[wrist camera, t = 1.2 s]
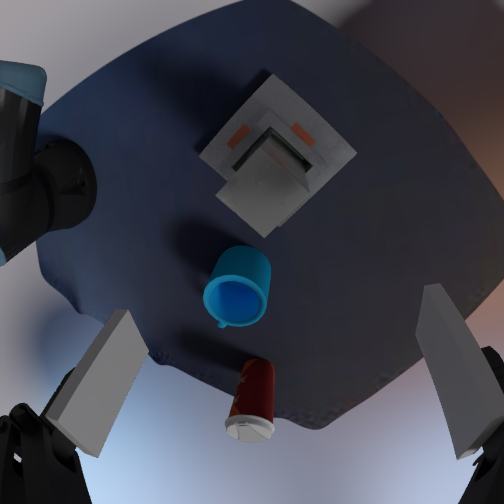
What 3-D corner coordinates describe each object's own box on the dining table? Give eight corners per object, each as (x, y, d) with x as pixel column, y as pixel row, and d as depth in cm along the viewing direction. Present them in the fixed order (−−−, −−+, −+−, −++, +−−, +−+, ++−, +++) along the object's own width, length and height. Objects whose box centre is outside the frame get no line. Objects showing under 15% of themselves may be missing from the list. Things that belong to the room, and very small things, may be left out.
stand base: (201, 154, 37) (167, 172, 27) (273, 75, 31) (265, 58, 21) (280, 223, 40) (275, 265, 30) (354, 151, 34) (380, 168, 24)
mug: (228, 236, 42) (214, 264, 35) (280, 259, 43) (277, 290, 35) (203, 297, 48) (188, 329, 40) (249, 316, 48) (241, 351, 41)
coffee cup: (231, 356, 53) (215, 422, 40) (273, 351, 51) (266, 420, 38) (245, 383, 57) (234, 444, 43) (284, 379, 54) (279, 443, 41)
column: (251, 153, 34) (212, 195, 18) (275, 127, 33) (259, 143, 16) (277, 176, 35) (264, 241, 19) (302, 152, 34) (313, 194, 17)
